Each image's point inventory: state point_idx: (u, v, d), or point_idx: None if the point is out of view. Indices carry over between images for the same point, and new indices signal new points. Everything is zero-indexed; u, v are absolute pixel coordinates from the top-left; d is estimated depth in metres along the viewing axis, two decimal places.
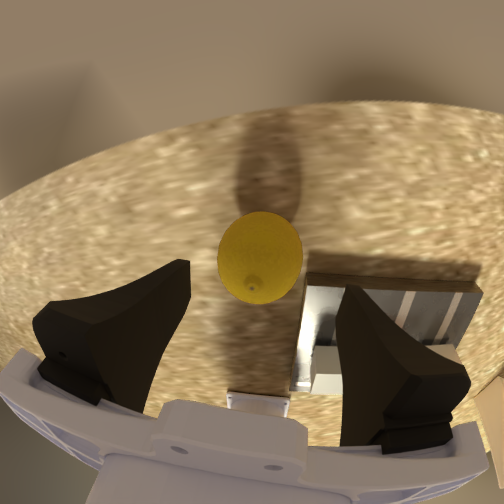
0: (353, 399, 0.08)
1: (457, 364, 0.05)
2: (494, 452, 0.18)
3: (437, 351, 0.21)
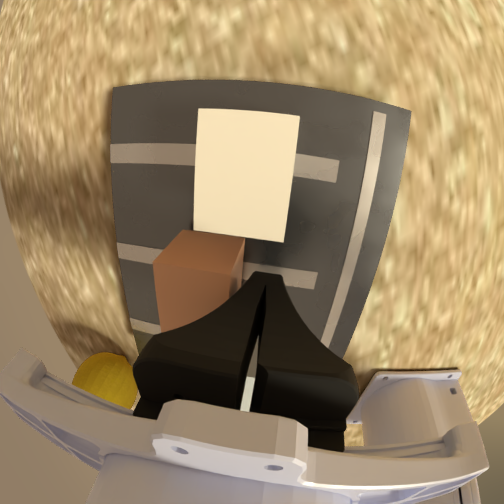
0: None
1: (342, 363, 0.06)
2: None
3: None
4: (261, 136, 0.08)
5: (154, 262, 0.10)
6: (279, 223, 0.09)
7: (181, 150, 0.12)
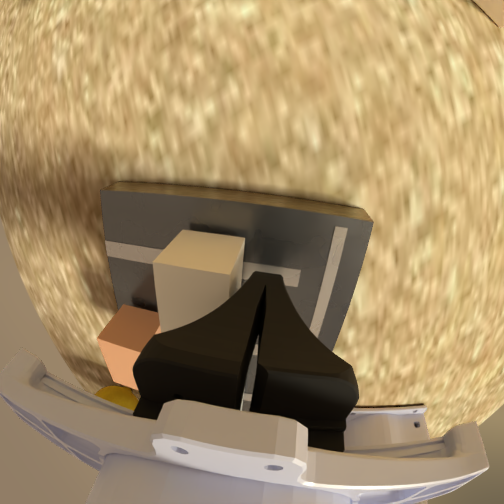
0: None
1: (342, 363, 0.06)
2: None
3: None
4: (201, 287, 0.10)
5: (98, 338, 0.13)
6: None
7: None
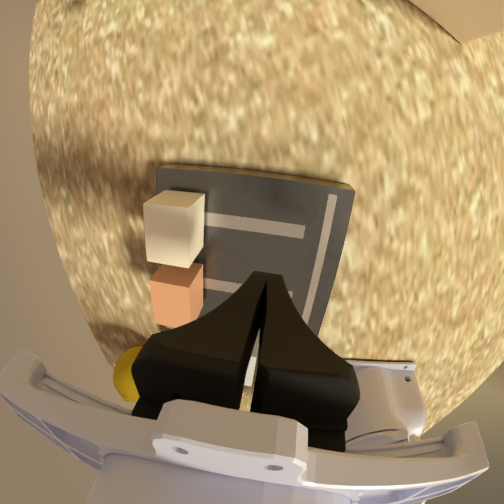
0: None
1: (344, 363, 0.06)
2: None
3: None
4: (171, 218, 0.16)
5: (150, 280, 0.18)
6: (185, 259, 0.17)
7: (207, 216, 0.20)
